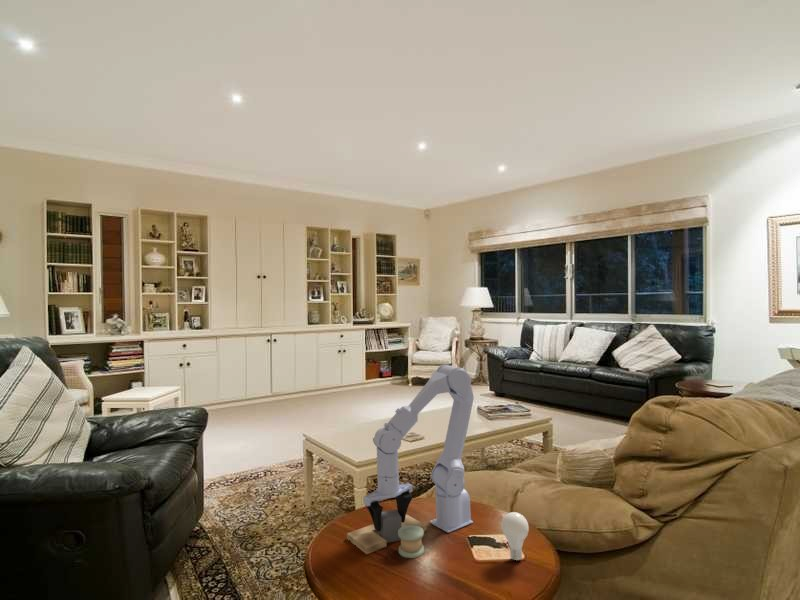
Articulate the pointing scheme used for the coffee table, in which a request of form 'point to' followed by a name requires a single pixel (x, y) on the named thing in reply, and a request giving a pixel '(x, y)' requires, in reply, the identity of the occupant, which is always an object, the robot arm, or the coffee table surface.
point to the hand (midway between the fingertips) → (389, 525)
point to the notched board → (375, 536)
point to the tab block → (390, 525)
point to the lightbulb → (515, 533)
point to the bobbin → (411, 541)
